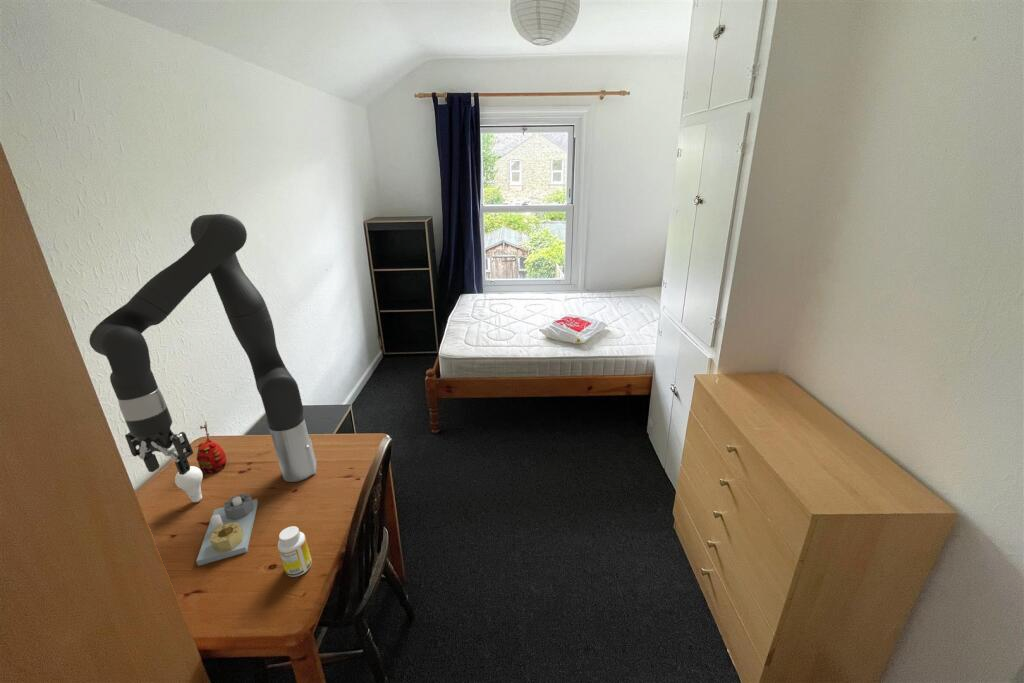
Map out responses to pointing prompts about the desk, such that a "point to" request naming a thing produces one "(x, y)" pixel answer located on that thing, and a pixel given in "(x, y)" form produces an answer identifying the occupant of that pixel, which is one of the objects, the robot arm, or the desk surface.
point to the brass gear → (227, 537)
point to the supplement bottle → (294, 551)
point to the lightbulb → (191, 483)
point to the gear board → (233, 511)
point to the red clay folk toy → (210, 455)
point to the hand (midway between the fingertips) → (169, 471)
